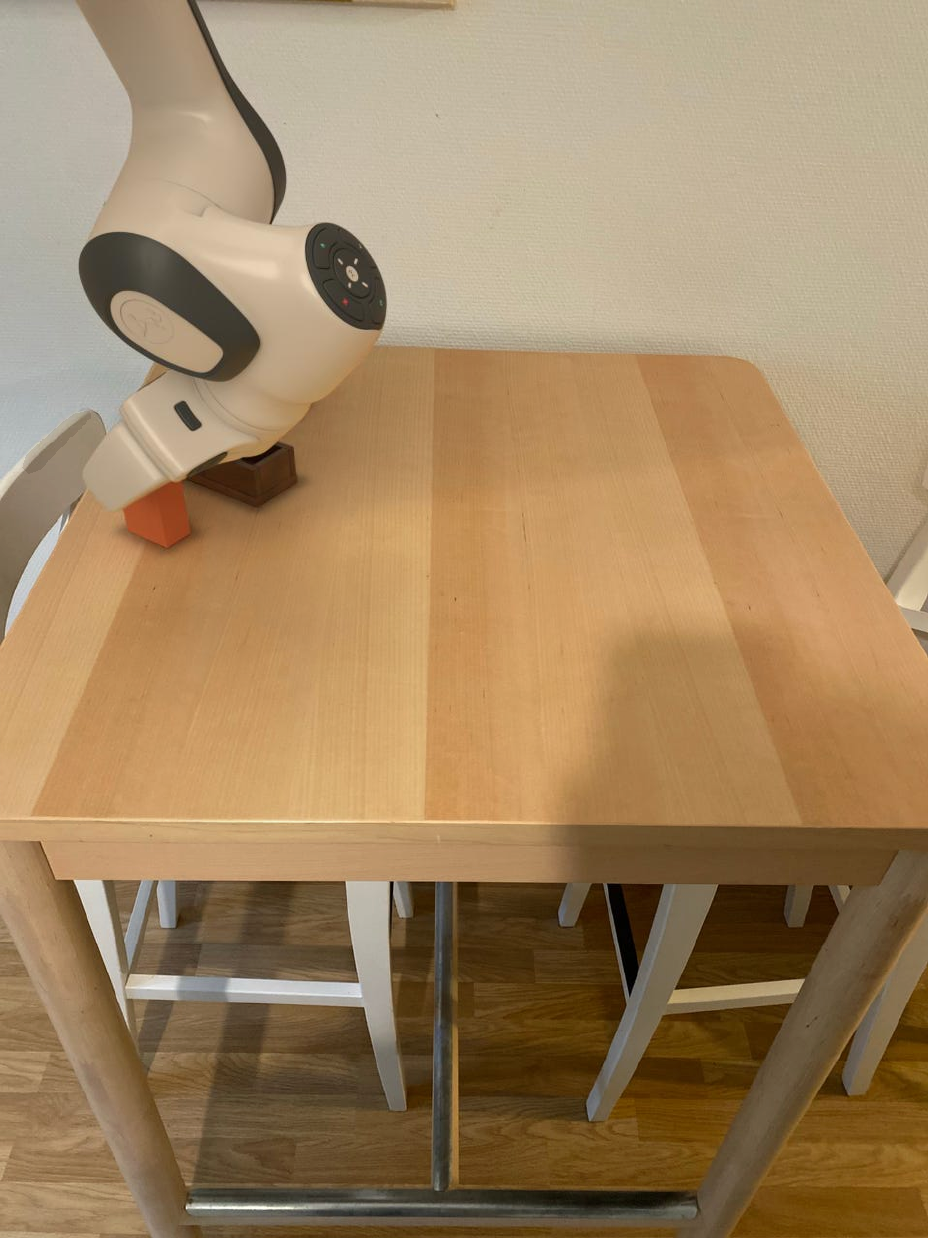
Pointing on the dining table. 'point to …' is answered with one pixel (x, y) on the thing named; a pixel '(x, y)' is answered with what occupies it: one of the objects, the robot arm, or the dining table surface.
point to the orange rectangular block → (160, 515)
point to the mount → (252, 475)
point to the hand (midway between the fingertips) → (166, 470)
